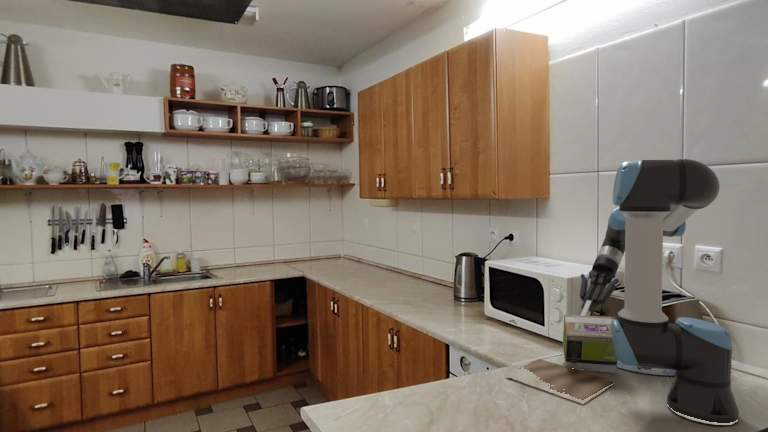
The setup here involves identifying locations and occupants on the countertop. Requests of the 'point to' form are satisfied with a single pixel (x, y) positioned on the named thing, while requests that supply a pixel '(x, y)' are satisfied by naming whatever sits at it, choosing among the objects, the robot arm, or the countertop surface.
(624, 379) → the countertop surface
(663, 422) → the countertop surface
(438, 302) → the countertop surface
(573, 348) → the tea box
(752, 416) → the countertop surface
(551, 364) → the walnut board
